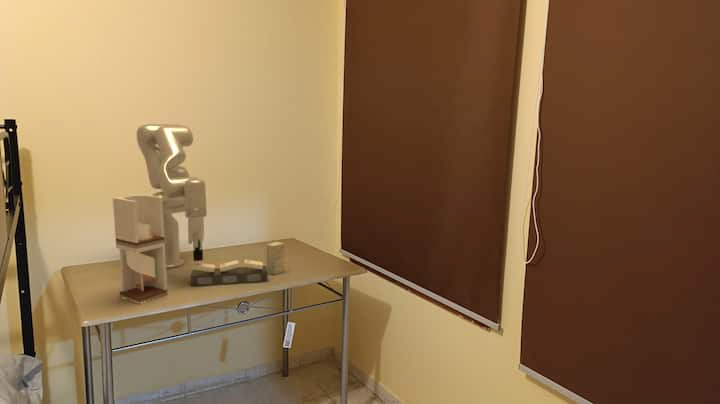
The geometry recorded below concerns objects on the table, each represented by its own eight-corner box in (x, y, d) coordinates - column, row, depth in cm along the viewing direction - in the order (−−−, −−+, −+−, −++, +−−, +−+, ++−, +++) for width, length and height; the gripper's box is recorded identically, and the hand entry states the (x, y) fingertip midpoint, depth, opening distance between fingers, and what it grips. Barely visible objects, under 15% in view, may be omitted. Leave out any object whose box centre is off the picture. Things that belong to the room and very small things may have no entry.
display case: (119, 297, 165) (112, 198, 159) (147, 288, 174) (141, 194, 168) (139, 304, 159) (133, 201, 154) (167, 294, 168) (162, 197, 162)
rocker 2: (244, 266, 182) (244, 262, 182) (243, 263, 187) (244, 259, 186) (262, 269, 184) (263, 265, 184) (261, 266, 188) (262, 261, 188)
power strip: (190, 286, 177) (190, 275, 176) (192, 279, 185) (192, 269, 184) (267, 281, 183) (267, 271, 183) (266, 275, 191) (266, 264, 191)
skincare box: (274, 275, 191) (274, 246, 189) (266, 273, 194) (265, 244, 192) (284, 271, 197) (284, 242, 195) (276, 269, 199) (276, 241, 197)
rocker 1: (194, 269, 178) (195, 265, 178) (195, 266, 182) (196, 261, 182) (213, 272, 180) (214, 267, 180) (214, 268, 184) (215, 264, 184)
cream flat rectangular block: (220, 271, 181) (219, 267, 180) (221, 268, 185) (219, 264, 184) (239, 267, 182) (238, 262, 182) (239, 263, 186) (238, 259, 186)
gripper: (187, 209, 183) (189, 255, 186) (182, 216, 169) (185, 266, 172) (207, 208, 185) (209, 254, 188) (205, 215, 171) (207, 264, 173)
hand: (198, 260), depth 180 cm, fingers closed
